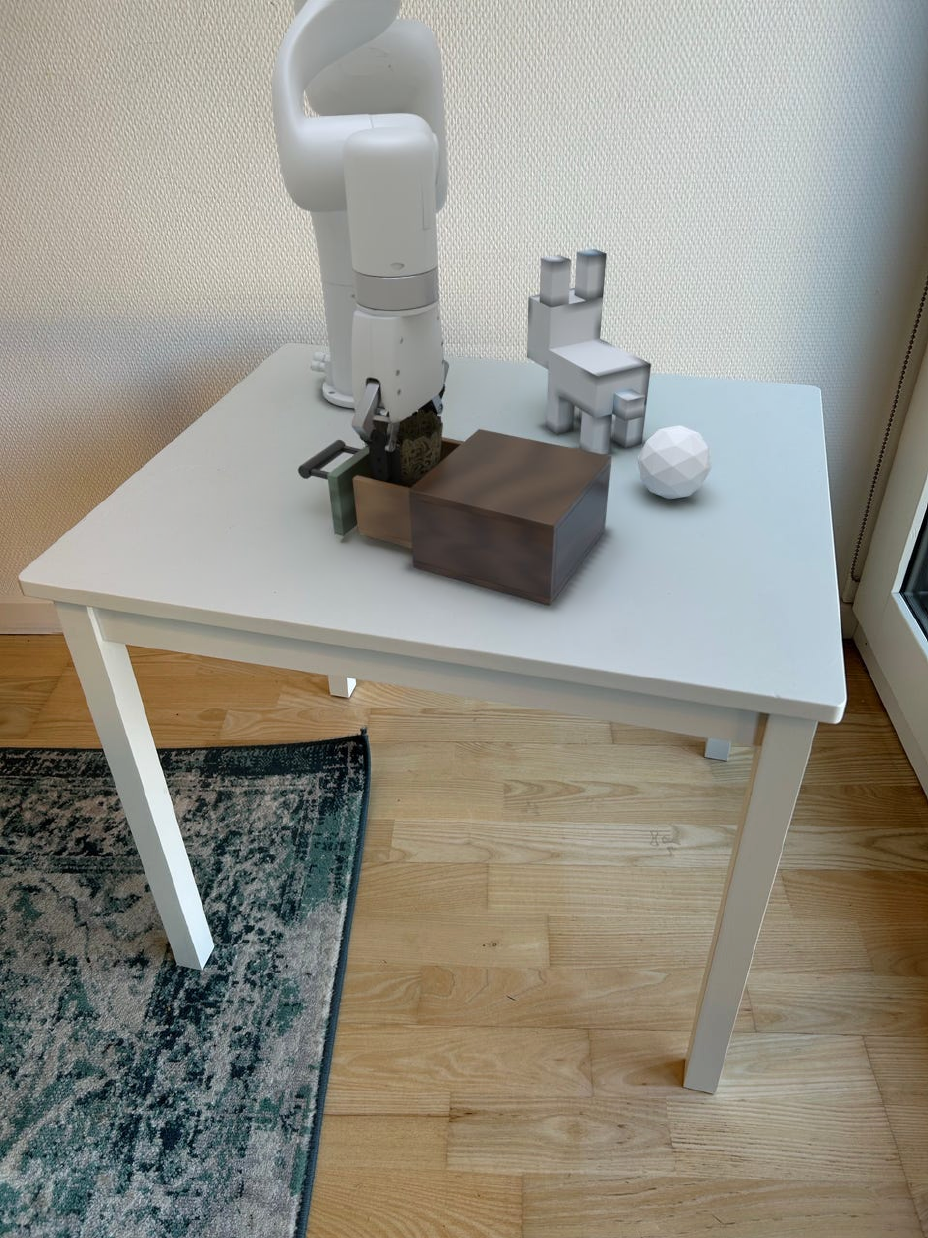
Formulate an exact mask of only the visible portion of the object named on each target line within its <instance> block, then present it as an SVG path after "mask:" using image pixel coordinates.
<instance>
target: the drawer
mask: <svg viewBox="0 0 928 1238" xmlns="http://www.w3.org/2000/svg"><path fill="white" fill-rule="evenodd" d="M464 441H465V440H464ZM464 441H463V440H459V439H454V438H450V437H444V436H442V451H441V452H440V460H439V463H440V462H441V461H442V460H444V459H445V458H446V457H447V456H448V455H449V454H451V453H452V452H453V451H454V450H455V449H456V448H457V447H459V446H460V445H461V444H462V443H463V442H464ZM344 453H345V454H348V455H349V454H350V455H352V456H350V457H349V458H348V459H346V460H345V461H344V462H342V463H341V464H340V465H338V466H337V467H336V468H334V469H333V470H331V471H325V470H322V469H324V468H325V467H326V466H327V465H329V464H330V463H332V462H334V460H336V459H337V458H339V457H340V456H341V455H342V454H344ZM297 472H298V475H299V476H300V477H301V478H302V479H305V480H308V479H310V478H311V477H314V478H315V477H316V478H319V479H323V480H327V484H328V485H327V486H328V492H329V500H330V507H331V509H330V510H331V516H332V523H333V532H334V534H335V535H338V536H341V537H345V536H346V535H347V534H348V533H350V532H352V530H353V529H354V528H356V527H357V533H358V534H359V535H363V536H366V537H369V538H373V539H376V540H377V539H378V540H381V541H384V542H388V543H392V544H395V545H398V546H403V547H407V548H410V549H412V540H411V525H410V509H409V493H408V490H409V489H410V488H407V487H403V486H399V485H395V484H391V483H387V482H382V481H378V480H374V479H372V476H371V465H370V454H369V447H366V446H365V445H364V447H362V448H358V447H353V446H349V445H347V444H346V442H345V441H344V440H343V439H337V440H335V441H334V442H332V443H331V444H329V445H327V446H326V447H325V448H323V449H322V450H321V451H319V452H318V453H317V454H315V455H314V456H312V457H311V458H309V459H308V460H306V461H305V462H304V463H302V464H301V465H299V466H298V468H297Z"/></svg>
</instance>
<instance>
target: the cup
mask: <svg viewBox="0 0 928 1238" xmlns="http://www.w3.org/2000/svg"><path fill="white" fill-rule="evenodd" d="M380 415H383V414H382V413H381V412H380ZM385 416H389V411H386V413H385ZM416 416H417V417H415V416H413V415H410V416H408V417H407V418H405V419H404V420H402V421H400V426H399V431H398V436H397V441H396V446H395V448H400V458H401V472H402V484H401V485H400V486H403V487H407V488H411V487H412V486H413V485H415V484H416V483H417V482H418V481H419V480H420V479H422V478H423V477H424V476H425V475H426V474H427V473H429V472H430V471H431V470H432V469H433V468H434V467H435V466H437V465H438V464H439V460H440V452H441V441H442V437H443V428H444V423H443V422H442V416H441V417H440V418H439V419H438V420H437V416H436V415H435V414H434V412H433V411H430V412H428V413H425V412H424V410H422V409H419V411H418V410H417V415H416ZM388 424H389V423H385V422H379V428H378V430H380V431H381V432H382V433H383V434H384V435H385V436H386V434H387V429H388Z"/></svg>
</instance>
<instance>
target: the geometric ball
mask: <svg viewBox="0 0 928 1238" xmlns="http://www.w3.org/2000/svg"><path fill="white" fill-rule="evenodd" d="M709 448H710V447H709V446H708V444H707V442H706V441H705V439H704V438H703V436H702V435H701V433H700V432H698V431H695V430H693V429H690V428H688V427H685V426H684V425H680V424H679V425H673V426H667V427H662V428H659V429H657V430H656V432H654V433H653V434H652V435H651V436H650V437H649V438H648V439H647V440H646V441H645V442H644V444H643V447H642V448H641V450H640V452H639V454H638V456H637V459H636V461H637V465H638V472H639V478H640V480H641V481H642V483H643V484H644V485H645V487H646V488H647V490H648V491H649V492H650V493H652V494H655V495H657V496H660V497H662V498H664V499H667V500H674V499H680V498H681V499H682V498H688V497H690V496H692V495H693V494H694V493H695V492H696V491H697V490H699V489H700V488H701V487H702V486H703V484H704V483H705V481H706V479H707V477H708V476H709V473H710V472H711V470H712V468H713V464H712V460H711V454H710V449H709Z"/></svg>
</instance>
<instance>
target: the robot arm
mask: <svg viewBox="0 0 928 1238" xmlns="http://www.w3.org/2000/svg"><path fill="white" fill-rule="evenodd" d="M401 5H402V0H293V7H294V8H293V9H294V16H295V17H294V19H293V20H292V22H291V24H290V25H289V27H288V28H287V31H286V32H285V34H284V36H283V39H282V41H281V43H280V45H279V48H278V49H277V54H276V58H275V62H274V65H273V70H272V78H271V105H272V115H273V121H274V128H275V137H276V143H277V151H278V159H279V164H280V171H281V174H282V179H283V183H284V187H285V190H286V192H287V194H288V196H289V198H290V200H291V201H292V202H293V203H294V204H295V205H296V206H297V207H298V208H300V209H301V210H305V211H307V212H310V216H311V221H312V225H313V226H312V227H313V231H314V235H315V242H316V249H317V254H318V262H319V271H320V280H321V288H322V296H323V297H322V298H323V305H324V314H325V322H326V323H325V324H326V330H327V331H326V332H327V340H328V349H329V350H328V351H329V353H328V352H322V351H319V350H318V351H317V350H316V351H315V352H314V354H313V357H312V361H311V363H310V370H312V371H314V372H317V373H324V374H325V381H324V382H323V384H322V387H321V388H322V395H323V397H324V399H326V401H328V402H329V403H331V404H333V405H336V406H339V407H343V408H348V409H354V412H355V413H354V415H353V417H352V419H351V427H352V429H353V430H354V431H355V432H356V434H357V435H358V437H359V439H360V440H361V441H362V442H363V443H364V447H365V446H366V447H369V454H370V465H371V476H372V479H374V480H378V481H382V482H387V483H391V484H395V485H399V486H400V485H401V484H402V472H401V458H400V448H395V446H396V441H397V436H398V431H399V426H400V421H402V420H404V419H405V418H407V417H408V416H409V417H410V415H413V416H415V417H417V416H416V415H417V412H418V411H419V409H422V410H424V412H425V413H428V412H430V411H433V412H434V414H435V415H436V416H437V420H438V419H439V418H440V417H441V418H442V416H441V415H442V413H443V411H444V403H443V401H442V399H443V396H444V395H445V392H446V384H445V383H446V380H447V376H448V373H449V369H450V364H449V362H448V361H447V360H445V351H444V350H445V349H444V338H443V328H442V320H441V313H440V307H439V305H440V286H439V285H440V283H439V258H438V257H439V256H438V230H437V228H438V227H437V226H438V225H437V214H438V213H439V212H440V211H442V210H443V208H444V207H445V204H446V201H447V199H448V192H449V191H448V190H449V169H448V167H449V166H448V149H447V130H446V111H445V110H446V109H445V92H444V75H443V65H442V58H441V52H440V47H439V44H438V42H437V41H438V40H437V38H436V36H435V33H434V32H433V30H432V28H430V26H428V25H427V24H426V23H425V22H423V21H421V20H417V19H414V18H397V16H398V14H399V12H400V9H401ZM304 94H305V95H306V98H307V102H308V104H309V106H310V107H311V109H312V111H313V112H315V114H316V115H319V116H307V115H305V109H304ZM381 410H385V411H386V412H388V411H389V416H386V414H385V415H384V414H382V415H380V413H381ZM379 422H385V423H389V424H388V429H387V434H386V436H385V435H384V434H383V433H382V432H381V431H380V430H378V428H379ZM441 451H442V441H441Z"/></svg>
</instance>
